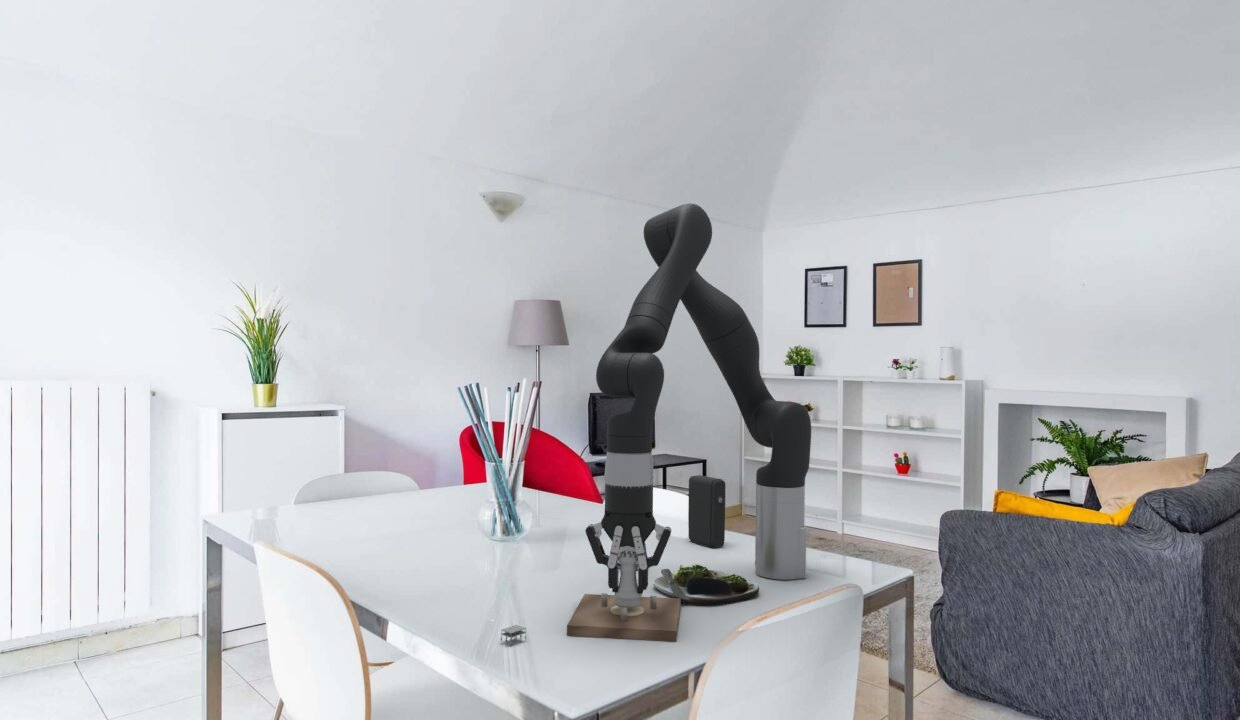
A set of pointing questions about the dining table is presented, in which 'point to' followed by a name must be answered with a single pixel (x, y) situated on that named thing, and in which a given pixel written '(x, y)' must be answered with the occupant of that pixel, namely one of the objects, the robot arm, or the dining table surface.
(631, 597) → the rook chess piece
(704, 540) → the dark grey upright block
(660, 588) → the salad plate
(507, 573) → the dining table surface
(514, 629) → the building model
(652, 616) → the pin board
